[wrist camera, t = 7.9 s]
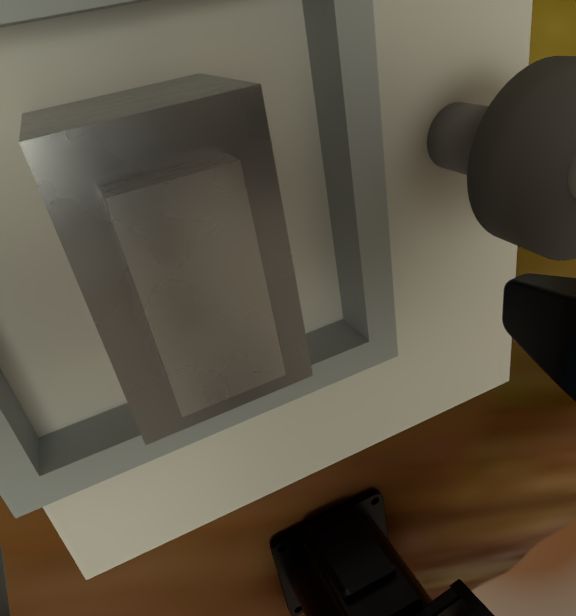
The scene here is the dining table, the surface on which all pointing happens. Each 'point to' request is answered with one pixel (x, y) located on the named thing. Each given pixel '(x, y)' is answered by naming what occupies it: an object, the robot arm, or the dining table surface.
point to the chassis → (302, 238)
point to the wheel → (529, 160)
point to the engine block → (176, 242)
